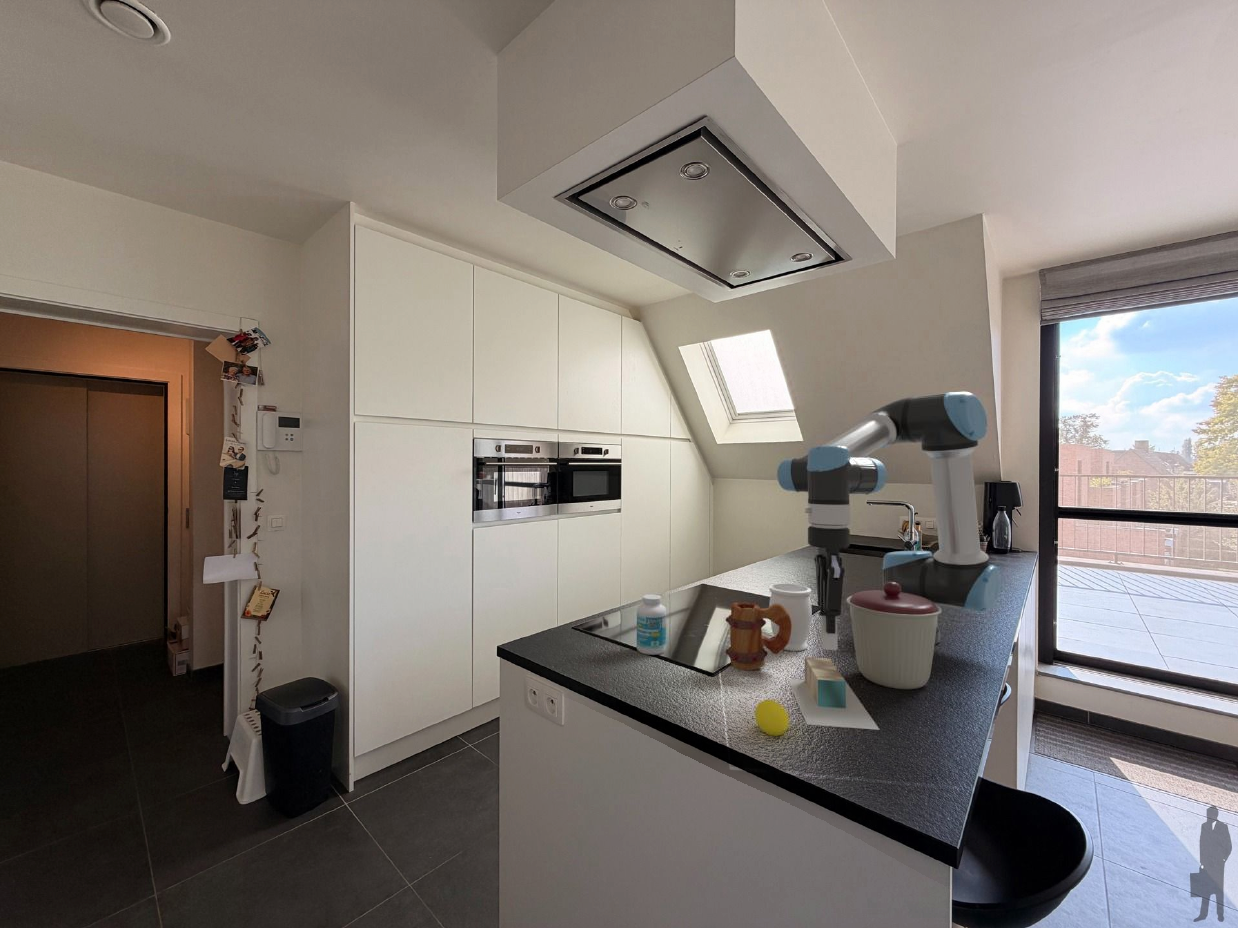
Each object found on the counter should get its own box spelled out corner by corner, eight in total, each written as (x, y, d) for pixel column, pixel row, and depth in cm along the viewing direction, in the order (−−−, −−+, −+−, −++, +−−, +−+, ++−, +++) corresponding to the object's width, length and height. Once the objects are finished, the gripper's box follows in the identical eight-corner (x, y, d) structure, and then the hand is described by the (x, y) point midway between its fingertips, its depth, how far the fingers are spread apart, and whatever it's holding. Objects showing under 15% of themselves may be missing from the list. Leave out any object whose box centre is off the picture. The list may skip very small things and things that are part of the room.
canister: (931, 707, 98) (930, 596, 98) (834, 680, 110) (833, 582, 110) (950, 679, 111) (949, 581, 111) (862, 658, 123) (861, 570, 124)
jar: (818, 653, 127) (817, 592, 127) (775, 653, 127) (775, 592, 127) (803, 639, 137) (803, 583, 137) (764, 639, 137) (764, 582, 138)
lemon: (796, 741, 86) (799, 711, 86) (769, 747, 84) (772, 716, 84) (770, 717, 93) (772, 689, 92) (744, 722, 91) (747, 693, 90)
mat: (846, 684, 108) (846, 682, 108) (879, 731, 88) (879, 729, 88) (787, 680, 110) (787, 678, 110) (807, 726, 90) (807, 724, 90)
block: (845, 708, 96) (829, 682, 108) (845, 681, 96) (829, 658, 108) (818, 706, 97) (804, 680, 109) (817, 679, 97) (804, 657, 109)
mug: (722, 670, 115) (722, 603, 116) (727, 658, 123) (727, 595, 123) (791, 680, 110) (791, 610, 111) (792, 666, 118) (792, 601, 118)
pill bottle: (632, 653, 126) (632, 598, 127) (642, 644, 133) (642, 591, 133) (661, 657, 124) (661, 601, 124) (670, 647, 130) (670, 594, 131)
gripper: (801, 522, 106) (801, 636, 106) (815, 529, 93) (816, 659, 93) (839, 522, 105) (840, 638, 105) (859, 529, 92) (860, 661, 92)
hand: (829, 648), depth 99 cm, fingers closed
